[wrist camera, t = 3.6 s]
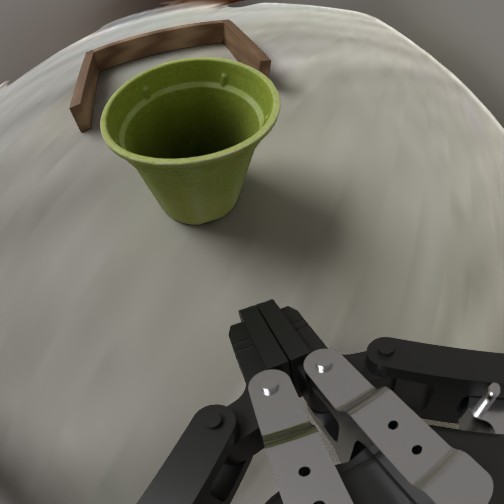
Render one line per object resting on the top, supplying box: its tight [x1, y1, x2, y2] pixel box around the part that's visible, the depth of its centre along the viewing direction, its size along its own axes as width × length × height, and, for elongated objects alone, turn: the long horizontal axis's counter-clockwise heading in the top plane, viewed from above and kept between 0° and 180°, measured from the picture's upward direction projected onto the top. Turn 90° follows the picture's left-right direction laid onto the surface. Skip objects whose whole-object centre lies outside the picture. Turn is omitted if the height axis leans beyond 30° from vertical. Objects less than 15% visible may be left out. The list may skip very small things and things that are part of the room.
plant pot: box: [100, 57, 280, 225], centre depth 16 cm, size 9×9×9 cm
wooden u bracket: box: [70, 20, 271, 132], centre depth 25 cm, size 20×15×4 cm
